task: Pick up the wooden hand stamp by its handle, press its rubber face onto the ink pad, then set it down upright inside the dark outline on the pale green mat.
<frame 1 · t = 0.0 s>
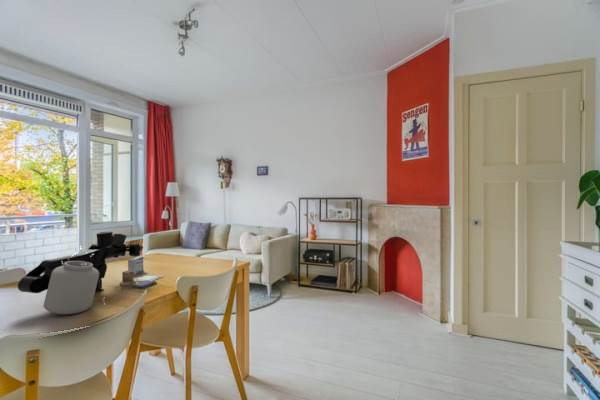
hand: (135, 246, 157), 17 cm above the table, tool horizontal, fingers open, 9 cm apart
mat: (147, 278, 154), on the table
medicine box: (135, 273, 165), on the table
ink pad: (144, 285, 142), on the table
jar: (75, 311, 111), on the table
stamp: (128, 284, 144), on the table
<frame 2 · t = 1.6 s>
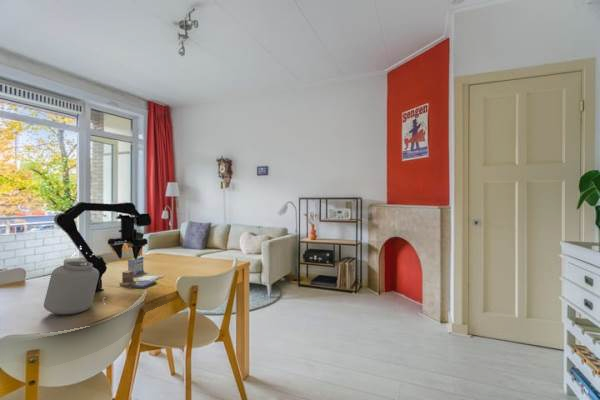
hand: (128, 258, 144), 13 cm above the table, tool pointing down, fingers open, 9 cm apart
nothing on the table moved.
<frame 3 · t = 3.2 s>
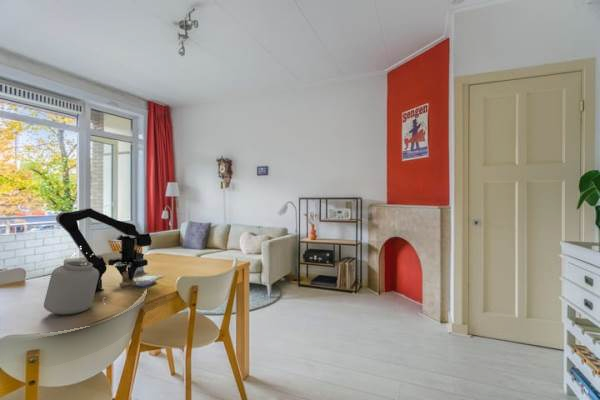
hand: (127, 279, 144), 3 cm above the table, tool pointing down, fingers closed on stamp, 3 cm apart
stamp: (127, 284, 144), on the table, touching gripper
everything else where it was.
when the fingers open (4 cm above the table, at t = 10.0 s): stamp drops 1 cm, resting on mat.
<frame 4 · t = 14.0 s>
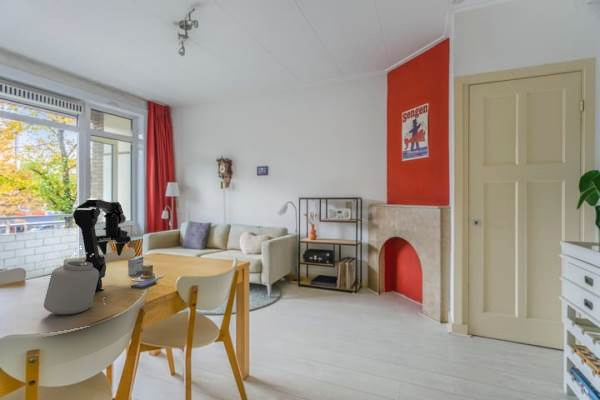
hand: (112, 255, 152), 13 cm above the table, tool pointing down, fingers open, 9 cm apart
stamp: (147, 277, 154), resting on mat
everything else where it was.
at the end: stamp inside the target area on the mat (0.1 cm from its centre), point 0.5 cm above the mat's base; stamp tilted 0°; the gripper is holding nothing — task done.
